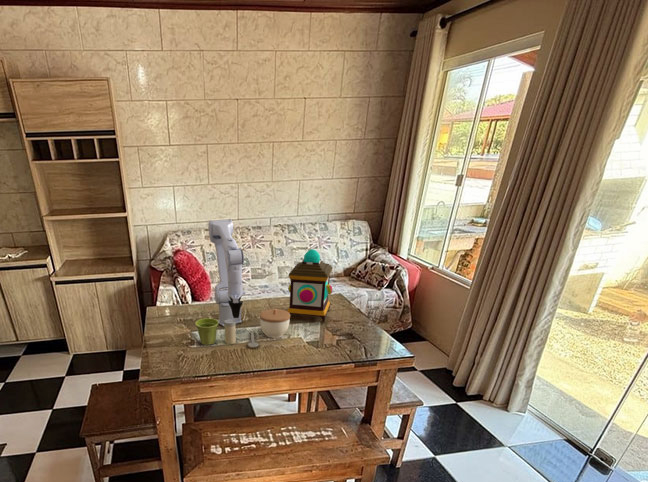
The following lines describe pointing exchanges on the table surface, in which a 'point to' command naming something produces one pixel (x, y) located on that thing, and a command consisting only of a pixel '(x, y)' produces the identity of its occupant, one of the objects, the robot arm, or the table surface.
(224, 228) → the robot arm
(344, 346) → the table surface
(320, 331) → the table surface
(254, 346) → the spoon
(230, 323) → the shaker
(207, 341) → the plant pot
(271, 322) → the lidded bowl
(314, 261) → the decorative lantern
